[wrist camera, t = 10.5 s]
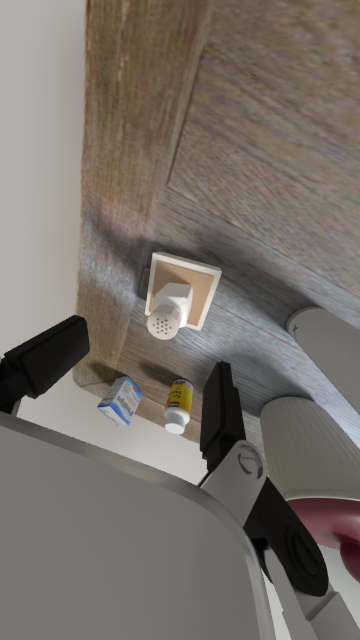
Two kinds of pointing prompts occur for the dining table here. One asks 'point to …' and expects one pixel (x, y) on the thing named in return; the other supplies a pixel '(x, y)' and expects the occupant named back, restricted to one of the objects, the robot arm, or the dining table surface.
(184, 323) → the salt shaker
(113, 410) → the medicine box
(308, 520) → the canister
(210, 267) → the pedestal
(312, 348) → the travel mug
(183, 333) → the dining table surface
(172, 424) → the supplement bottle
